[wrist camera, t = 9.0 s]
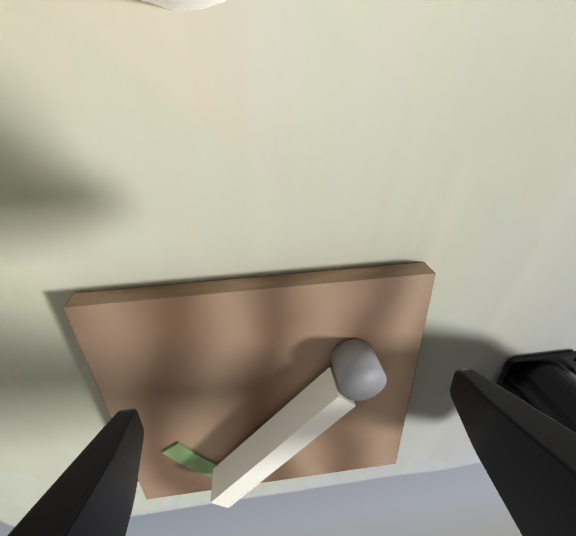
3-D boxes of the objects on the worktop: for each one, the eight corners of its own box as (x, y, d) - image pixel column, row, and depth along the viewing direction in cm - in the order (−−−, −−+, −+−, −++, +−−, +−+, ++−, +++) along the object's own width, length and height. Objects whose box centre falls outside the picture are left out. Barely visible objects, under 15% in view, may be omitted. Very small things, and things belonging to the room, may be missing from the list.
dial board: (424, 262, 22) (437, 274, 21) (389, 447, 32) (396, 465, 30) (74, 293, 20) (61, 309, 19) (150, 481, 30) (146, 501, 28)
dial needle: (352, 332, 22) (366, 362, 20) (381, 351, 23) (397, 382, 21) (206, 463, 27) (202, 500, 25) (236, 474, 28) (235, 510, 26)
